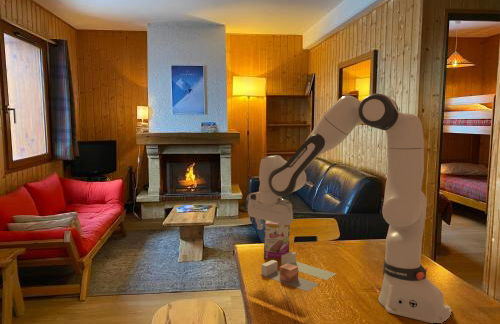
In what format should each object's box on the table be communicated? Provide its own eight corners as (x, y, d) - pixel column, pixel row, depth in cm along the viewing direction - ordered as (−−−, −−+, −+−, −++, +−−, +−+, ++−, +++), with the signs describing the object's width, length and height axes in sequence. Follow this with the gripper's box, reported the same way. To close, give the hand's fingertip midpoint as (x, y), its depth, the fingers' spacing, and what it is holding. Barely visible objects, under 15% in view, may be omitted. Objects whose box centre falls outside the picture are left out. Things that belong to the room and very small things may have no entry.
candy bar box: (263, 259, 172) (264, 223, 170) (264, 255, 177) (264, 220, 175) (289, 260, 171) (289, 224, 169) (289, 256, 176) (289, 221, 174)
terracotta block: (298, 279, 149) (298, 266, 148) (290, 283, 145) (290, 270, 144) (287, 275, 152) (287, 263, 151) (279, 279, 148) (279, 266, 148)
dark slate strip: (319, 286, 144) (319, 273, 144) (307, 294, 138) (307, 280, 138) (272, 271, 159) (272, 259, 158) (260, 277, 153) (260, 264, 152)
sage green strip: (336, 276, 154) (337, 264, 153) (326, 282, 148) (326, 269, 147) (291, 262, 168) (291, 251, 168) (280, 267, 162) (280, 256, 162)
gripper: (296, 199, 147) (295, 235, 148) (255, 192, 160) (255, 224, 162) (287, 202, 142) (286, 239, 144) (245, 194, 155) (245, 227, 157)
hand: (269, 231), depth 153 cm, fingers open, 8 cm apart
